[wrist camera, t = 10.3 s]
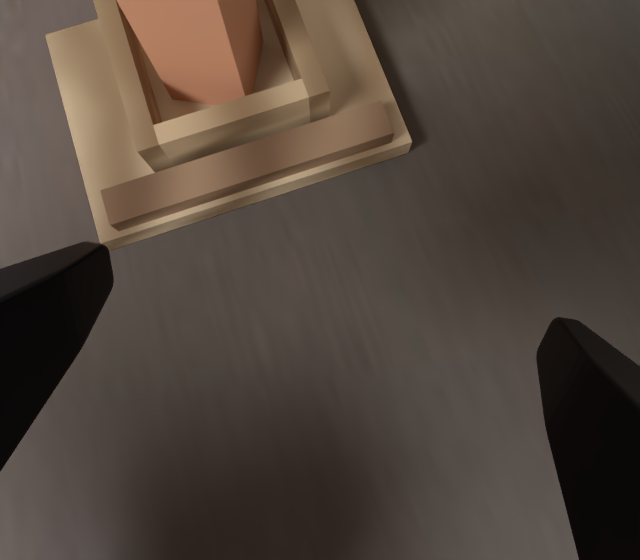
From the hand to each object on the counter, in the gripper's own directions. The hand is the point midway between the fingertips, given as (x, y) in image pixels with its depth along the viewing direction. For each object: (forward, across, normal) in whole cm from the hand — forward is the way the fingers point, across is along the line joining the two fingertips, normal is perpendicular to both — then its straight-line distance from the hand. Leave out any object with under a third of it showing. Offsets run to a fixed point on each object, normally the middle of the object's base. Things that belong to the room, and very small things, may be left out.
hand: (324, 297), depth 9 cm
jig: (+18, +7, +1) cm, 19 cm away
